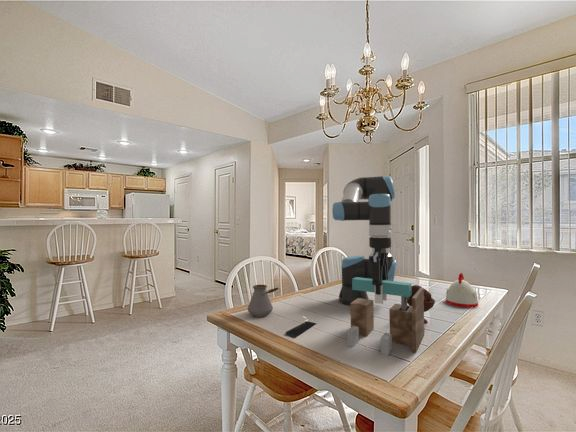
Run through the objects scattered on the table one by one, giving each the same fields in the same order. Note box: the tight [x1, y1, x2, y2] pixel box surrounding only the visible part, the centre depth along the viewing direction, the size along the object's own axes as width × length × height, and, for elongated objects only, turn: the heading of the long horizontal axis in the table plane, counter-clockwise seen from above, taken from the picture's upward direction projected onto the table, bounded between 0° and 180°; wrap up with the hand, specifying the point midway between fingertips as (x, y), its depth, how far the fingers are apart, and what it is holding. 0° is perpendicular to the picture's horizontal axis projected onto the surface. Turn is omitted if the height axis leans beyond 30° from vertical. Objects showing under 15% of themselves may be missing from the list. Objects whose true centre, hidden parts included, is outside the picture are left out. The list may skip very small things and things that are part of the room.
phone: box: [285, 321, 317, 339], centre depth 111 cm, size 8×1×15 cm
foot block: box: [349, 298, 375, 338], centre depth 108 cm, size 6×8×12 cm
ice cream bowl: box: [407, 284, 436, 325], centre depth 120 cm, size 11×11×15 cm
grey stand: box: [347, 326, 393, 357], centre depth 94 cm, size 13×5×6 cm, turn 56°
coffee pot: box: [247, 284, 280, 318], centre depth 127 cm, size 21×12×15 cm, turn 35°
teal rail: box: [352, 277, 412, 311], centre depth 104 cm, size 20×4×9 cm, turn 56°
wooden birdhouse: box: [389, 287, 425, 354], centre depth 99 cm, size 9×16×18 cm, turn 146°
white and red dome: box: [445, 272, 479, 309], centre depth 144 cm, size 14×14×15 cm
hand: (380, 301), depth 104 cm, fingers closed on teal rail, 4 cm apart
